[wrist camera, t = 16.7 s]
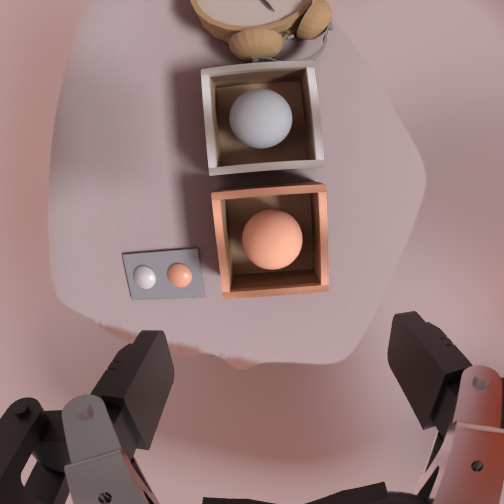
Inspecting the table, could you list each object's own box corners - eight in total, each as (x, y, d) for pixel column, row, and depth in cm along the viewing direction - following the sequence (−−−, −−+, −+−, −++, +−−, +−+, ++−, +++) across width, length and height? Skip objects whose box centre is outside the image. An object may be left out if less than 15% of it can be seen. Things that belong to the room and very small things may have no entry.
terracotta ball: (241, 207, 27) (236, 216, 22) (297, 203, 27) (304, 211, 22) (246, 261, 28) (243, 280, 23) (300, 257, 28) (307, 276, 23)
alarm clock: (268, -60, 17) (367, 23, 17) (272, -33, 22) (357, 50, 22) (169, -18, 19) (248, 75, 19) (184, 7, 24) (255, 99, 24)
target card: (123, 254, 29) (121, 255, 28) (198, 247, 28) (196, 249, 28) (133, 298, 30) (131, 300, 30) (205, 296, 30) (204, 298, 29)
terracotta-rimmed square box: (219, 188, 27) (210, 192, 22) (315, 181, 26) (325, 184, 22) (229, 279, 29) (223, 298, 25) (319, 272, 29) (328, 291, 24)
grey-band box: (210, 84, 24) (200, 69, 20) (305, 77, 24) (313, 60, 19) (218, 174, 27) (209, 175, 22) (314, 167, 26) (324, 167, 22)
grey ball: (231, 99, 24) (222, 85, 20) (287, 94, 24) (290, 79, 19) (236, 152, 26) (227, 149, 21) (293, 148, 25) (296, 143, 20)
